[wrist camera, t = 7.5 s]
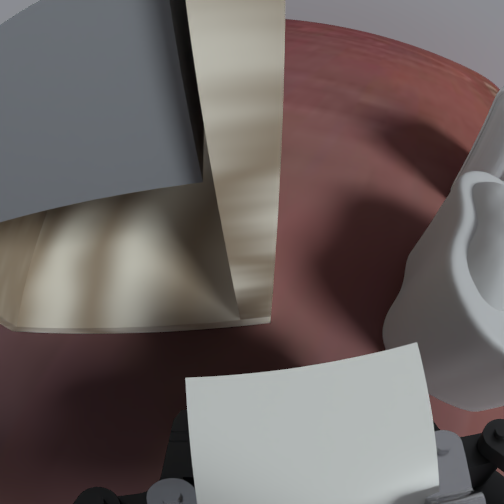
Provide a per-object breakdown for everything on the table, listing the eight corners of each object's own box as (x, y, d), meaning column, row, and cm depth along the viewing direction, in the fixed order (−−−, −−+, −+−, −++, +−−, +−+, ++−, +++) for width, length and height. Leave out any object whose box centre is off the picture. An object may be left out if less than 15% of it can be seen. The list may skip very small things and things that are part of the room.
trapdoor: (-64, 242, 7) (-129, 158, 2) (68, 57, 19) (53, 6, 14) (202, 182, 8) (161, -58, 2) (211, 21, 19) (205, -40, 14)
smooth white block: (240, 493, 10) (211, 581, 3) (230, 401, 13) (185, 377, 5) (343, 477, 10) (439, 530, 3) (330, 388, 13) (417, 342, 6)
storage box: (12, 331, 15) (-149, 183, 1) (84, 127, 27) (41, 8, 14) (270, 322, 15) (284, -93, 2) (238, 97, 28) (228, -45, 14)
